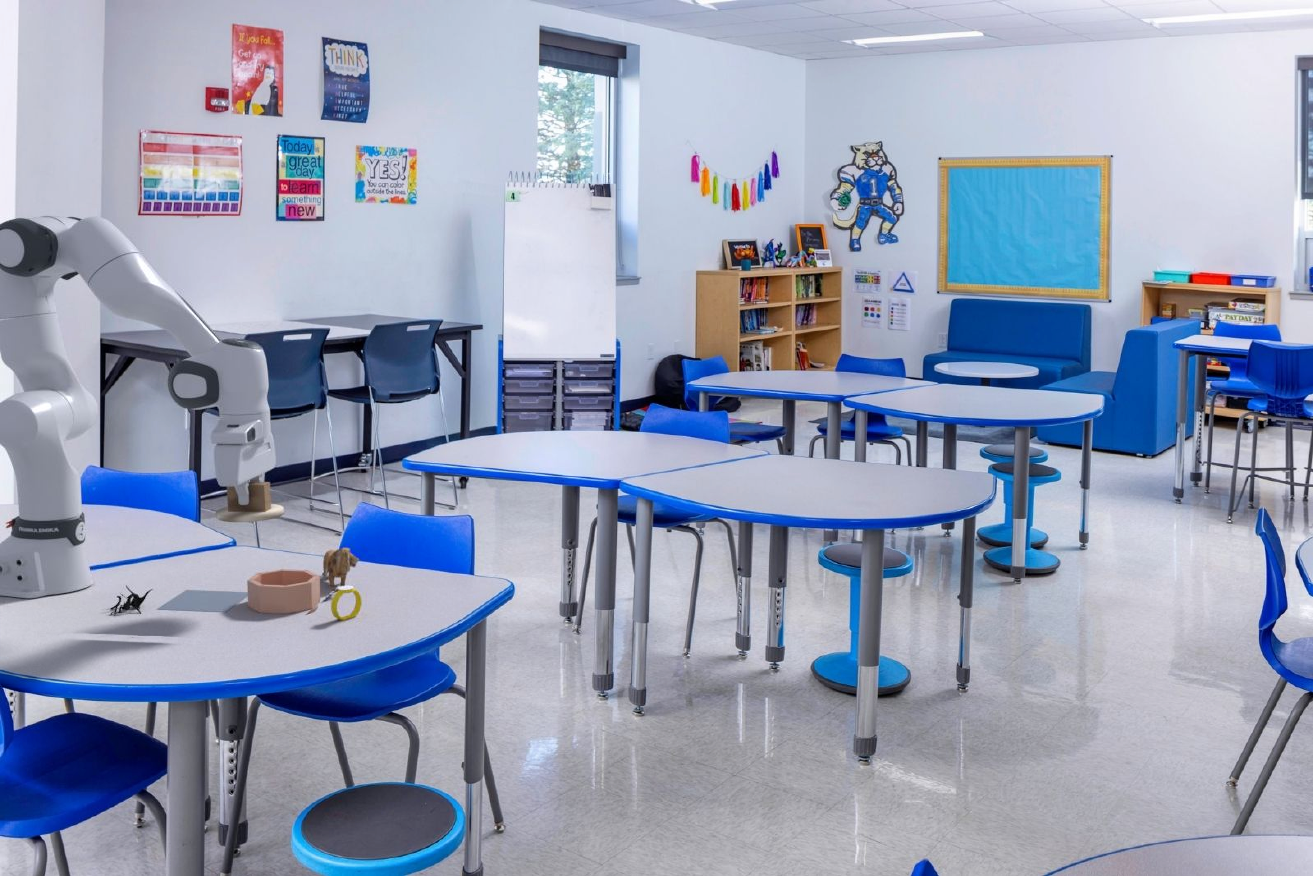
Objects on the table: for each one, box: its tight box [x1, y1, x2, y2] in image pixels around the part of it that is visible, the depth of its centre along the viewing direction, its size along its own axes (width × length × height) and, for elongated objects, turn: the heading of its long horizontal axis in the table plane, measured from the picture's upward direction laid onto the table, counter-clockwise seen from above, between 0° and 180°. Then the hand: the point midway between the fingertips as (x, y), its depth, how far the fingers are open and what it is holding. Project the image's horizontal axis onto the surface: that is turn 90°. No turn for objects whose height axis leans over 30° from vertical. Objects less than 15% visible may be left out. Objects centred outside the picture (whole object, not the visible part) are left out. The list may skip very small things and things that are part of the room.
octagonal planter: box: [246, 568, 321, 616], centre depth 232 cm, size 12×12×6 cm
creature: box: [109, 584, 154, 617], centre depth 226 cm, size 8×5×8 cm
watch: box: [330, 584, 363, 621], centre depth 228 cm, size 6×3×6 cm, turn 142°
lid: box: [215, 481, 285, 523], centre depth 230 cm, size 12×12×6 cm
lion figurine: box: [321, 547, 360, 592], centre depth 249 cm, size 15×5×9 cm, turn 35°
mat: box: [156, 589, 248, 613], centre depth 233 cm, size 13×13×1 cm
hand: (249, 501), depth 230 cm, fingers closed on lid, 3 cm apart
